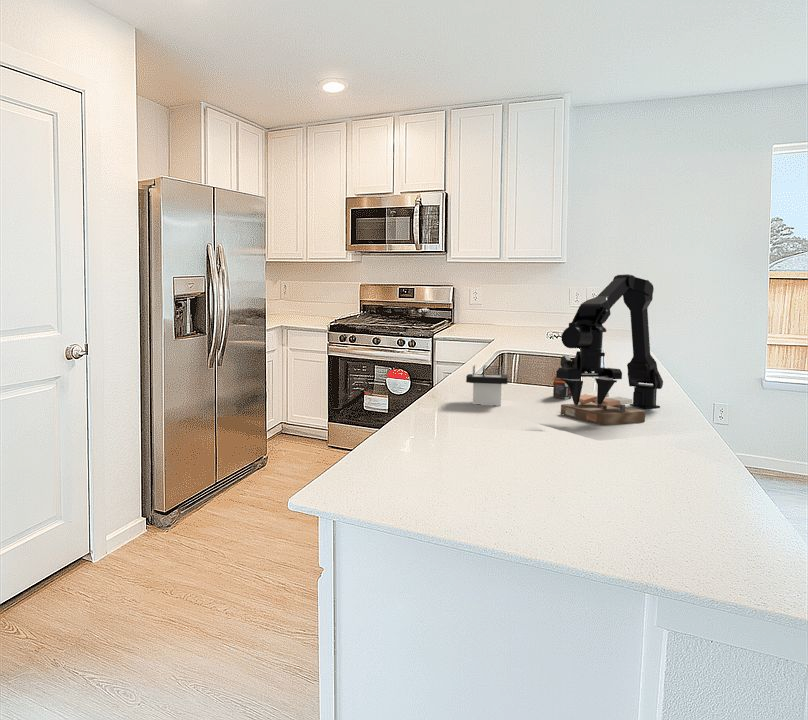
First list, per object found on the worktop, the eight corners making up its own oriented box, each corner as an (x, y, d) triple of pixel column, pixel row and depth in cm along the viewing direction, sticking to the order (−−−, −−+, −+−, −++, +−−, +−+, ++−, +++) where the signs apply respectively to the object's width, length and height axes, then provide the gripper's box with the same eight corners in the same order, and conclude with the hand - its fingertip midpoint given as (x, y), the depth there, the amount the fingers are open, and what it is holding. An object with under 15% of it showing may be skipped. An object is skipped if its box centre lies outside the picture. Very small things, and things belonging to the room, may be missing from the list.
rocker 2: (617, 403, 171) (618, 396, 171) (633, 406, 166) (633, 399, 166) (593, 406, 167) (593, 399, 167) (608, 409, 162) (608, 402, 162)
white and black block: (529, 402, 199) (530, 363, 198) (532, 416, 174) (534, 371, 173) (447, 399, 204) (447, 361, 203) (438, 412, 178) (439, 368, 177)
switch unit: (599, 411, 182) (600, 395, 182) (644, 421, 166) (645, 404, 166) (559, 414, 176) (560, 397, 176) (602, 425, 160) (603, 407, 159)
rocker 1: (596, 397, 179) (595, 390, 179) (610, 399, 174) (609, 392, 174) (573, 404, 176) (572, 397, 175) (586, 407, 171) (585, 400, 170)
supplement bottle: (572, 406, 193) (573, 371, 192) (553, 405, 194) (554, 371, 193) (570, 403, 199) (571, 370, 198) (552, 402, 200) (553, 369, 199)
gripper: (596, 347, 173) (593, 400, 174) (545, 346, 165) (542, 401, 166) (625, 349, 163) (621, 405, 164) (571, 348, 155) (568, 407, 156)
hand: (587, 404), depth 163 cm, fingers open, 8 cm apart
